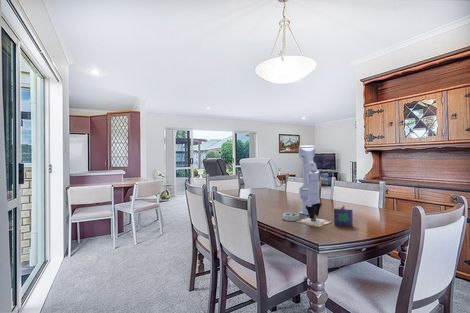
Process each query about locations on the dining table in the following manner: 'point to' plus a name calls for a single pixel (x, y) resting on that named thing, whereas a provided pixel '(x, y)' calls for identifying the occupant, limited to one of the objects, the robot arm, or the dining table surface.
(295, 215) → the bowl
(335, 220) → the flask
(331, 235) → the dining table surface
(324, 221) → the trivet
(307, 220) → the cover
